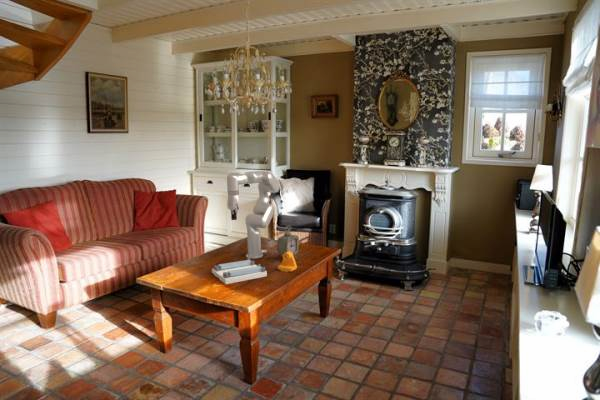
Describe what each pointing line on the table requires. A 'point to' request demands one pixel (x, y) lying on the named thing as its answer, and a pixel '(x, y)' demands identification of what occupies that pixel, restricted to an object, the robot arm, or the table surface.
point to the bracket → (288, 262)
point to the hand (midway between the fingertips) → (234, 219)
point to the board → (228, 279)
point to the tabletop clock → (288, 243)
